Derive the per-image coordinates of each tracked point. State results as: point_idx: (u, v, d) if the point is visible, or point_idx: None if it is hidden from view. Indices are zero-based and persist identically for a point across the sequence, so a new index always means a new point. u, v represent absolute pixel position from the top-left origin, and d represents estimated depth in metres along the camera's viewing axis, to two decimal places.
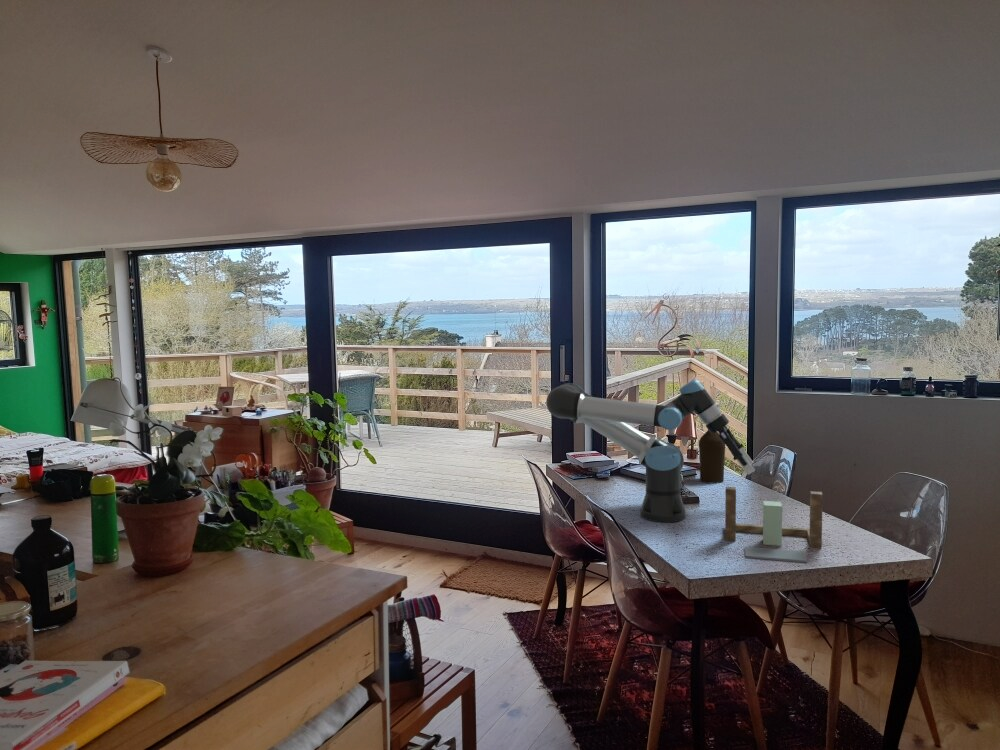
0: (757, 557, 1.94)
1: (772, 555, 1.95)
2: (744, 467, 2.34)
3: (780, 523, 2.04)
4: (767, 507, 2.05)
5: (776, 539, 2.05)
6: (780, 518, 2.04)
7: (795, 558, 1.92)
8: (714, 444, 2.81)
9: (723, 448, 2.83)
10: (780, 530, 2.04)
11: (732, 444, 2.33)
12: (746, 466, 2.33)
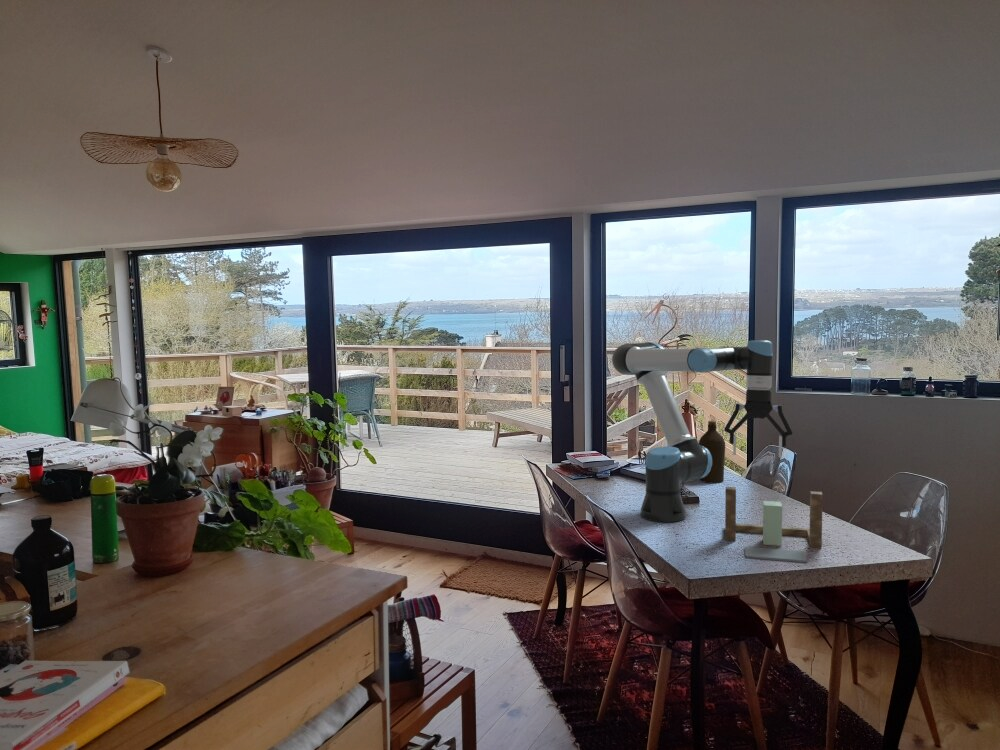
0: (757, 557, 1.94)
1: (772, 555, 1.95)
2: None
3: (780, 523, 2.04)
4: (767, 507, 2.05)
5: (776, 539, 2.05)
6: (780, 518, 2.04)
7: (795, 558, 1.92)
8: (714, 444, 2.81)
9: (723, 448, 2.83)
10: (780, 530, 2.04)
11: (730, 418, 2.20)
12: None
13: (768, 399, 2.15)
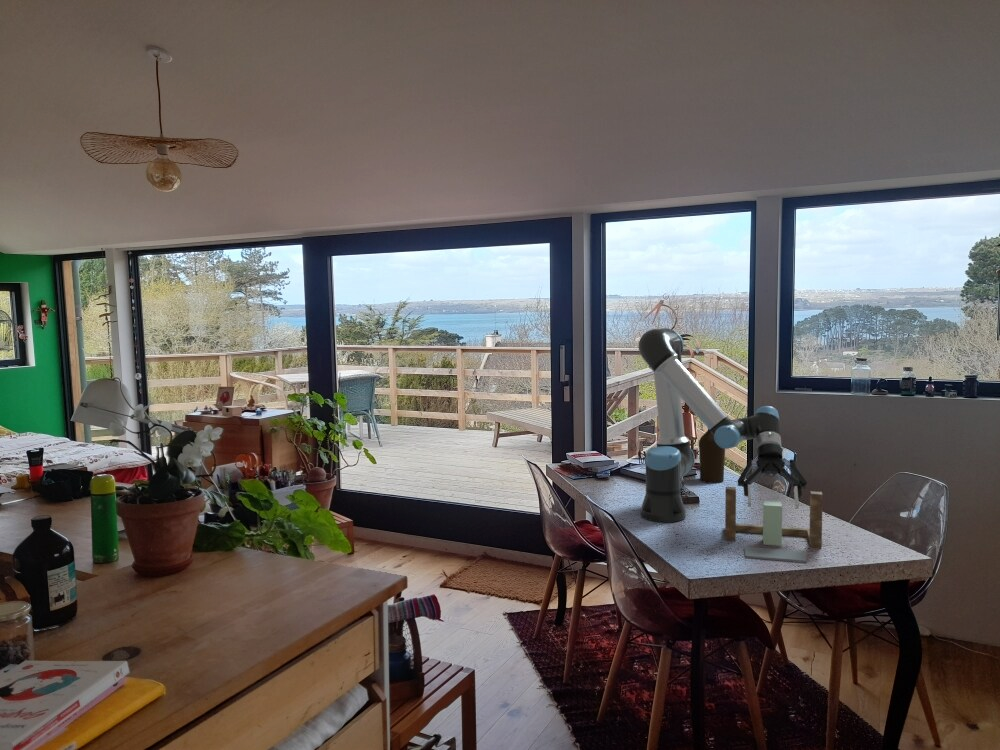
0: (757, 557, 1.94)
1: (772, 555, 1.95)
2: None
3: (780, 523, 2.04)
4: (767, 507, 2.05)
5: (776, 539, 2.05)
6: (780, 518, 2.04)
7: (795, 558, 1.92)
8: (714, 444, 2.81)
9: (723, 448, 2.83)
10: (780, 530, 2.04)
11: None
12: None
13: (779, 452, 2.19)
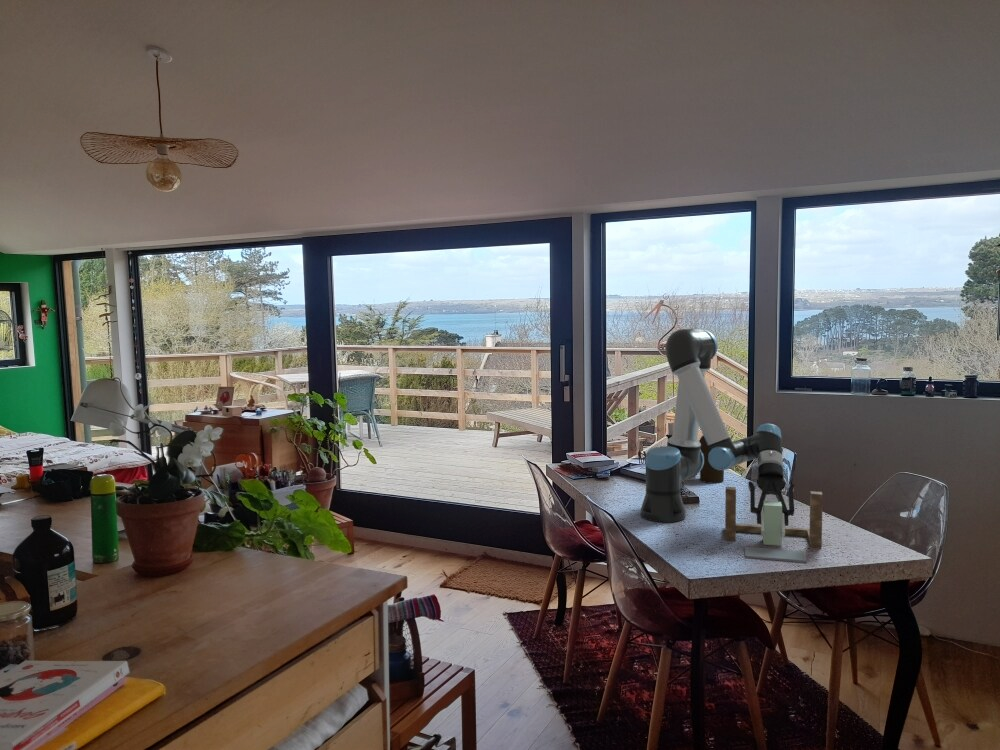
0: (757, 557, 1.94)
1: (772, 555, 1.95)
2: None
3: (780, 523, 2.04)
4: (767, 507, 2.05)
5: (776, 538, 2.05)
6: (780, 518, 2.04)
7: (795, 558, 1.92)
8: None
9: None
10: (780, 530, 2.04)
11: (750, 496, 2.13)
12: None
13: (780, 472, 2.14)
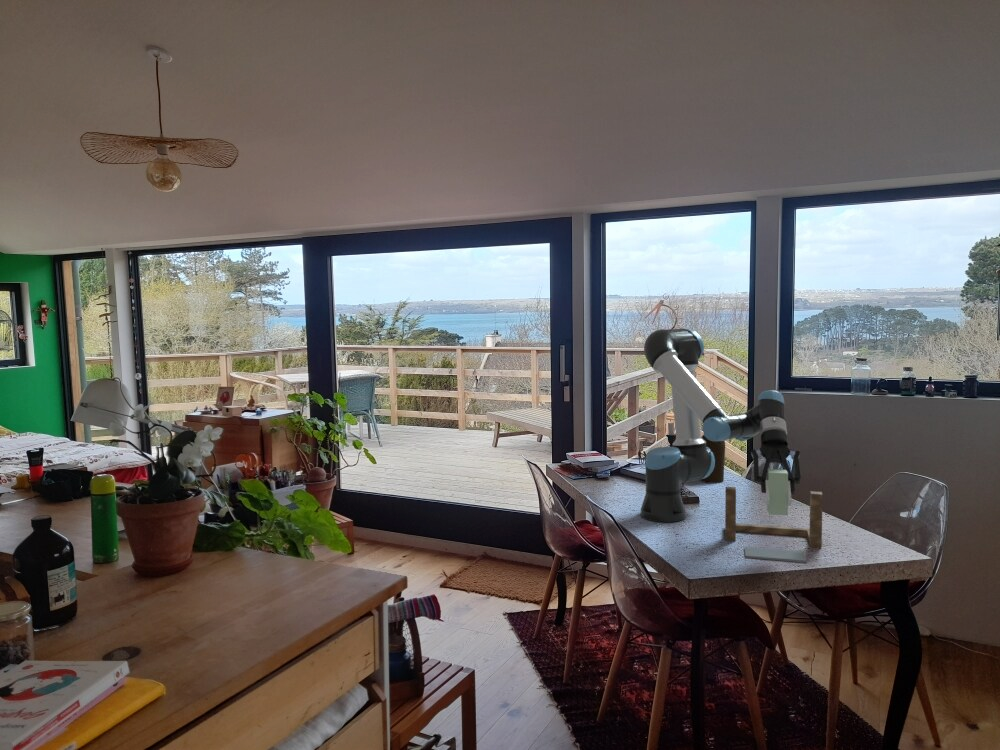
0: (757, 557, 1.94)
1: (772, 555, 1.95)
2: None
3: (786, 491, 1.93)
4: (773, 474, 1.94)
5: (782, 508, 1.94)
6: (786, 486, 1.93)
7: (795, 558, 1.92)
8: (714, 444, 2.81)
9: (723, 448, 2.83)
10: (786, 499, 1.93)
11: None
12: None
13: (785, 439, 2.03)
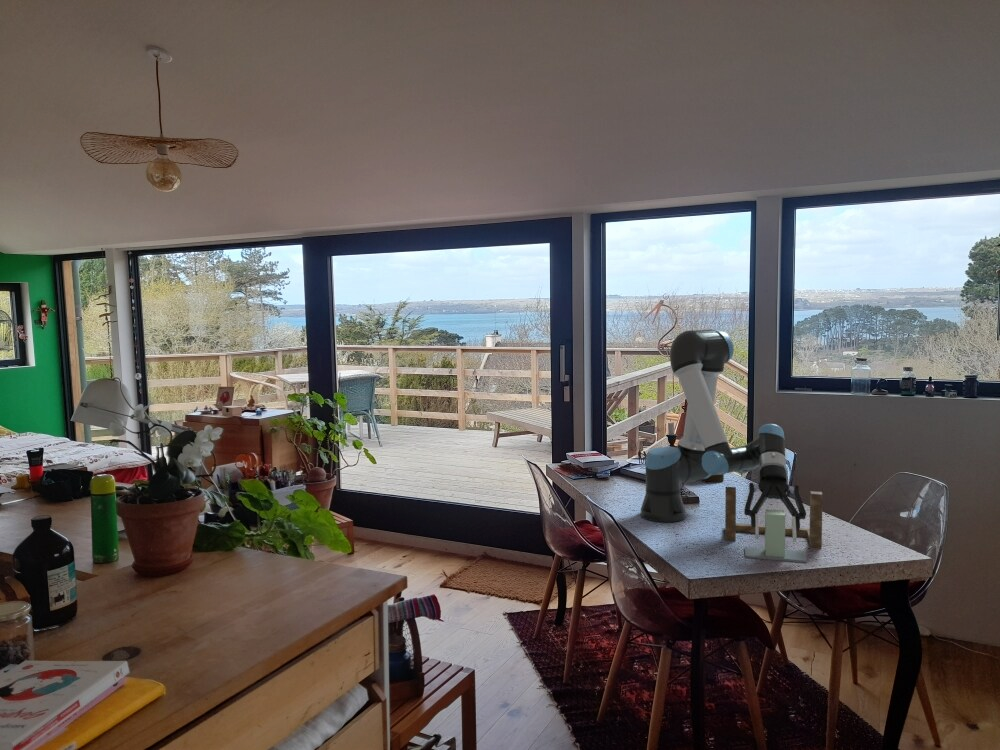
0: (757, 557, 1.94)
1: None
2: (755, 529, 1.97)
3: (783, 533, 1.93)
4: (770, 516, 1.94)
5: (779, 549, 1.94)
6: (783, 528, 1.93)
7: (795, 558, 1.92)
8: None
9: None
10: (783, 540, 1.93)
11: None
12: (755, 528, 1.96)
13: (784, 475, 2.02)
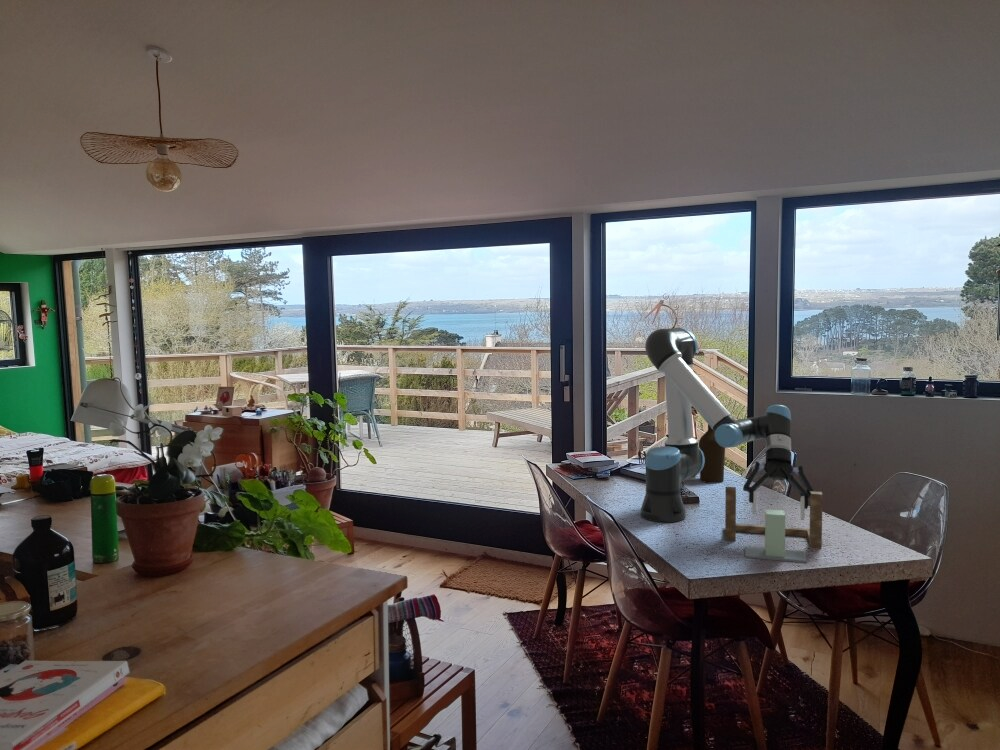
0: (757, 557, 1.94)
1: None
2: None
3: (783, 533, 1.93)
4: (770, 516, 1.94)
5: (779, 549, 1.94)
6: (783, 528, 1.93)
7: (795, 558, 1.92)
8: (714, 444, 2.81)
9: (723, 448, 2.83)
10: (783, 540, 1.93)
11: (750, 475, 2.14)
12: None
13: (789, 458, 2.12)
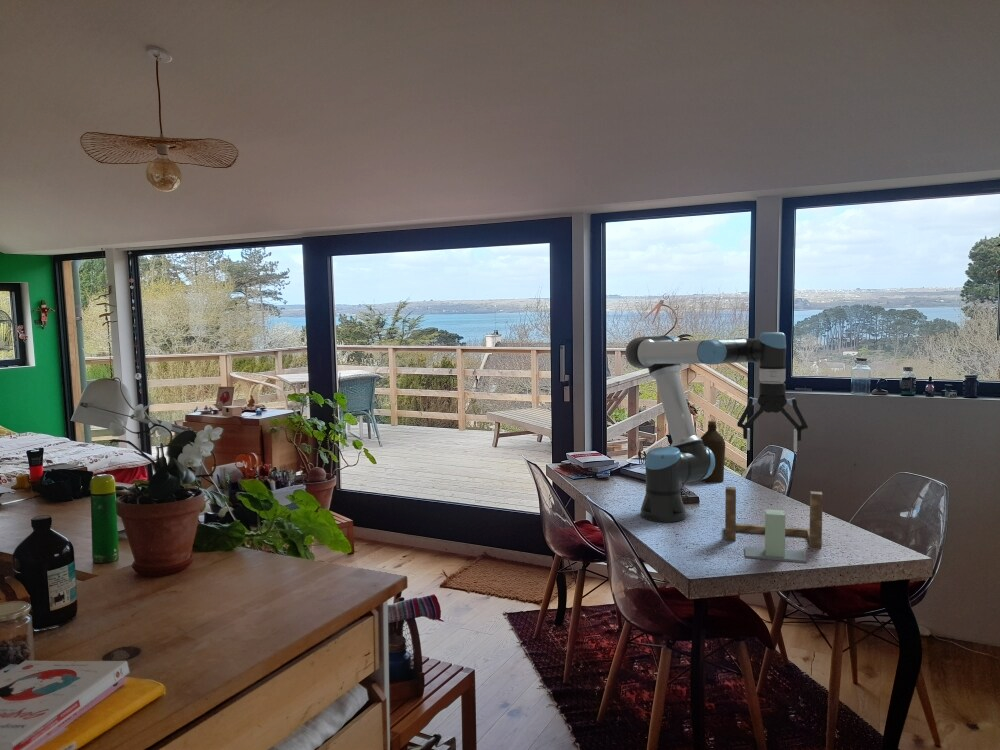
0: (757, 557, 1.94)
1: None
2: None
3: (783, 533, 1.93)
4: (770, 516, 1.94)
5: (779, 549, 1.94)
6: (783, 528, 1.93)
7: (795, 558, 1.92)
8: (714, 444, 2.81)
9: (723, 448, 2.83)
10: (783, 540, 1.93)
11: (743, 412, 2.14)
12: None
13: (782, 393, 2.09)
